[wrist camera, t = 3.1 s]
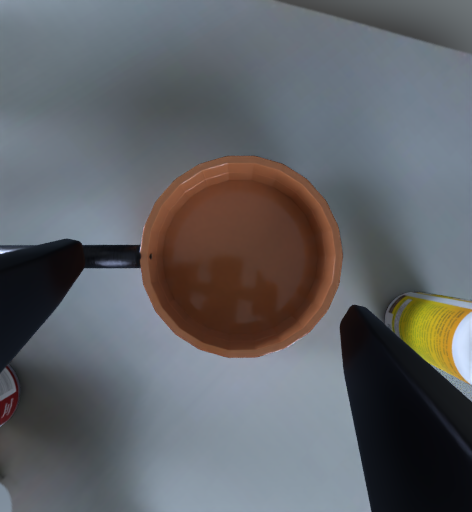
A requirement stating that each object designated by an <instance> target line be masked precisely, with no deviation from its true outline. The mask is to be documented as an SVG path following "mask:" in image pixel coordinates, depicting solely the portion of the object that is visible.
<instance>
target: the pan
mask: <svg viewBox="0 0 472 512" xmlns="http://www.w3.org/2000/svg"><path fill="white" fill-rule="evenodd" d="M140 253H141V256H142V257H141V259H140V265H141V272H142V279H143V285H144V287H145V290H146V292H147V294H148V296H149V298H150V301H151V303H152V305H153V307H154V309H155V311H156V313H157V314H158V315H159V316H160V317H161V319H162V320H163V321H164V322H165V323H166V324H167V325H168V327H169V328H170V329H171V330H172V331H173V332H174V333H175V334H176V335H177V336H179V337H180V338H182V339H184V340H185V341H187V342H188V343H190V344H191V345H193V346H194V347H196V348H198V349H200V350H203V351H206V352H210V353H213V354H217V355H220V356H223V357H228V358H252V357H260V356H263V355H266V354H270V353H273V352H276V351H279V350H283V349H284V348H287V347H288V346H290V345H291V344H293V343H294V342H296V341H297V340H299V339H300V338H302V337H303V336H305V335H306V334H308V333H309V332H310V331H311V330H312V329H313V328H314V326H315V325H316V324H317V323H318V322H319V320H320V319H321V318H322V317H323V316H324V315H325V313H326V312H327V310H328V309H329V307H330V304H331V302H332V300H333V298H334V295H335V293H336V291H337V289H338V286H339V283H340V275H341V268H342V260H343V252H342V245H341V239H340V232H339V227H338V225H337V222H336V220H335V218H334V216H333V214H332V212H331V210H330V208H329V205H328V203H327V202H326V200H325V199H324V198H323V197H322V195H321V194H320V193H319V192H318V191H317V190H316V189H315V187H314V186H313V185H312V184H311V183H310V182H309V181H308V180H307V179H306V178H305V177H303V176H301V175H300V174H298V173H297V172H295V171H294V170H292V169H290V168H289V167H287V166H286V165H284V164H282V163H278V162H275V161H271V160H268V159H264V158H261V157H258V156H225V157H222V158H218V159H215V160H211V161H208V162H204V163H201V164H200V165H199V164H198V165H197V166H195V167H194V168H192V169H191V170H189V171H187V172H186V173H184V174H183V175H181V176H180V177H178V178H176V179H175V180H174V181H173V182H172V183H171V185H170V186H169V187H168V188H167V189H166V190H165V191H164V193H163V194H162V195H161V196H160V197H159V198H158V199H157V201H156V202H155V204H154V206H153V209H152V211H151V213H150V215H149V217H148V219H147V222H146V224H145V226H144V228H143V235H142V242H141V248H140ZM150 254H152V259H150V257H149V256H150Z"/></svg>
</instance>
